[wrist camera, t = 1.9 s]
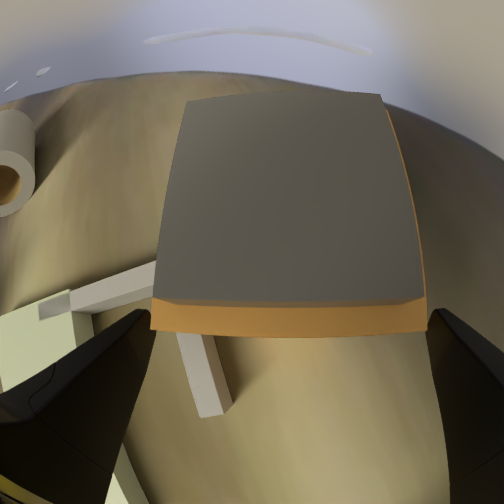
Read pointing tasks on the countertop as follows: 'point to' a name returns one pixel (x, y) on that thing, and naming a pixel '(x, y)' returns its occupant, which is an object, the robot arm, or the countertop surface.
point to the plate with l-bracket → (81, 329)
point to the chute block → (289, 221)
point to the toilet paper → (16, 160)
